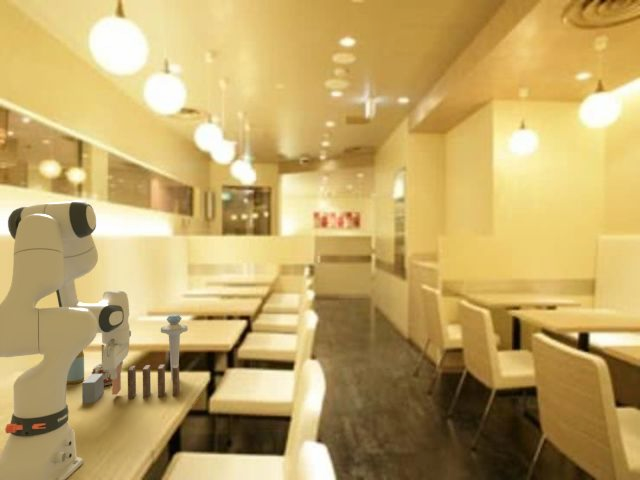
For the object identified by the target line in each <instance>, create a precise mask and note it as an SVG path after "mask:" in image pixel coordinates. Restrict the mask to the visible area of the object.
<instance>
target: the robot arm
mask: <svg viewBox="0 0 640 480" xmlns="http://www.w3.org/2000/svg"><path fill="white" fill-rule="evenodd" d="M96 216H97V215H96V213H95V210H94V208H93V207H92V205H91V204H90V203H88V202H87V201H83V200H72V201H59V202H57V201H55V202H43V203H38V204H34V205H29V206H21V207H18V208H16V209H14V210H13V211H12V212H11V213H10V214H9V216H8V219H7V227H8V228H7V229H8V231H9V234H10V236H11V237H12V239H14V246H13V267H12V268H13V269H12V277H11V278H12V279H11V285H10V287H9V290H8V292H7V294H6V296H5V297H4V299H3V301H1V302H0V358H15V357H23V356H24V357H25V356H31V355H43V359H42V360H41V361H40V362H39V363H38V364H37V365H35V366H33V367H31V368H29V369H27V370H26V371H24V372H23V373H21V374H20V375H19V376H18V377H17V378H16V379H15V381H14V383H13V413H12V414H11V415H12V416H11V419H10V423H7V424H6V426H5V428H4V429H5V433H6V434H9V435H8V438H7V440H6V442H5V445H4V446H3V449H2V451H1V454H0V480H66V479H67V478H68V477H70V476H71V475H72V474H73V473H74V472H75V471H76V470H78V469H79V467H81V466H82V465H83V463H84V461H83V458H82V457H80V456H77V444H76V443H77V442H76V432H75V430H74V428H72V427H71V426H70V424H69V423H68V421H69V415H70V413H69V407H68V404H67V385H68V384H67V376H68V372H69V369H70V367H71V365H72V363H73V361H74V360H75V358H76V357H77V356H78V354H79V353H80V352H81V351H82V350H85V349H86V348H87V347H88V346H90V345H91V343H92V342H93V341H95V338H96V336H97V334H98V333H99V334H101V342H102V343H101V344H102V345H105V346H104V351H103V370H105V371H107V370H109V372H110V374H111V379H116V378H117V373H116V369H117V366H118V365H119V364H120V363H121V373H123V363H124V360H125V358H126V357H128V355H129V352H130V351H129V350H130V338H131V335H132V331H131V330H130V324H129V316H130V305H129V297H128V294H127V293H126V291H122V290H121V291H120V290H105V291H104V292H103V293H102V299H100V300H99V301H98V302H96V303H91V302H90V303H89V302H87V303H86V302H85V303H84V302H82V301H81V300H79V299H78V295H77V290H76V284H75V283H76V282H75V280H77V279H79V278H82V277H84V276H86V275H87V274H89V273H90V272H91V271H92V270H93V269H94V268H95V267H96V266H97V263H98V260H99V254H98V249H97V246H96V244H95V241H94V238H93V235H92V233H94V232H95V230H96V228H97V218H96ZM54 293H56V297H57V302H58V306H56V307H42V308H41V307H40V308H39V307H36V306H37V304H38V303H39V302H40V300H42V299H43V298H45V297H47V296H48V297H49V296H50V295H51V294H54Z"/></svg>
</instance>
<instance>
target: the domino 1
mask: <svg viewBox="0 0 640 480" xmlns="http://www.w3.org/2000/svg"><path fill="white" fill-rule="evenodd" d="M116 373H117V378H116V379H112V384H111V391H112V392H111V395H118V394H119V392H120V391H121V390H122V382H121V381H122V375H121V374H122V372H121V363H120V364H119V365H118V366H117V369H116Z"/></svg>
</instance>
